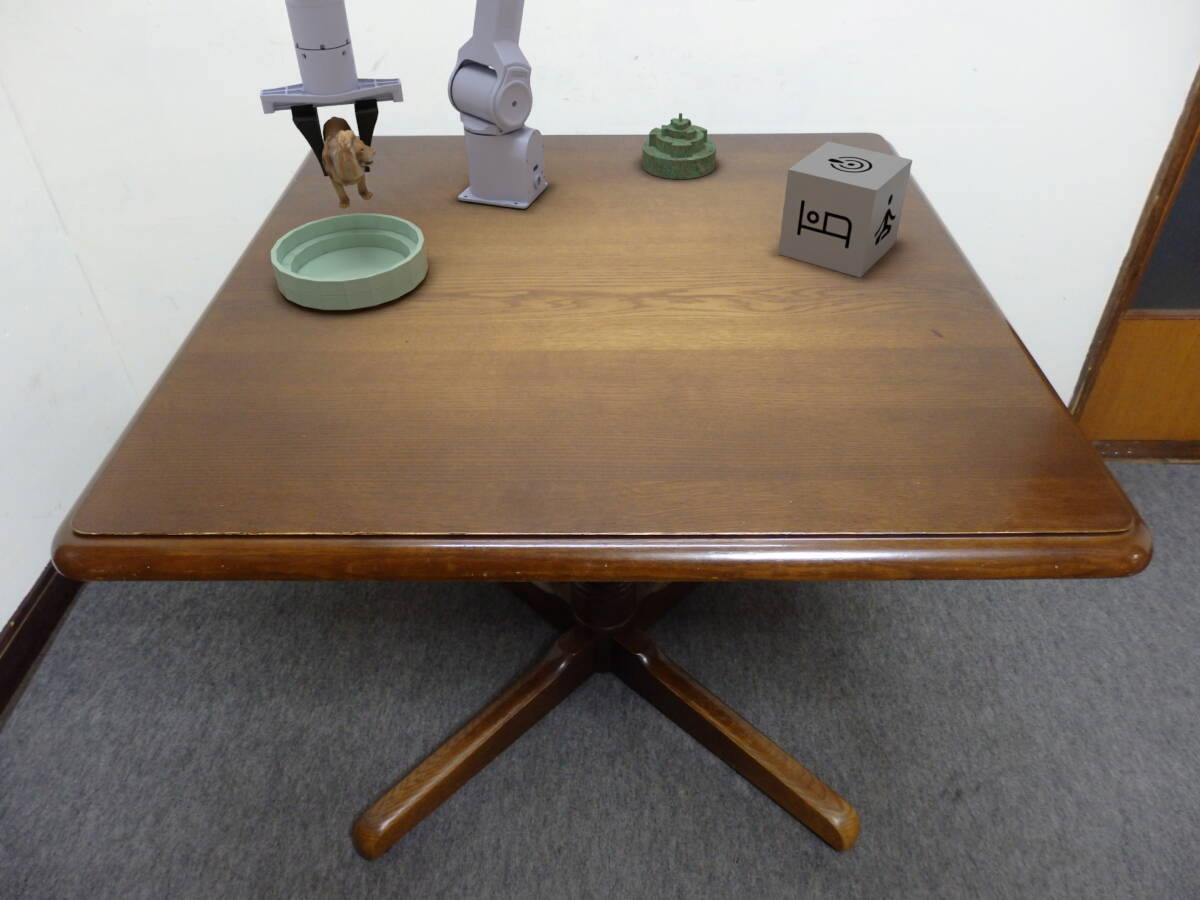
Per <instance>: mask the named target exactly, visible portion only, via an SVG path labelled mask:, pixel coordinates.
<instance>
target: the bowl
mask: <svg viewBox="0 0 1200 900" xmlns="http://www.w3.org/2000/svg"><path fill="white" fill-rule="evenodd" d="M270 262H271V266H272V269H273V274H274V277H275V280H276V281H275V282H276V285H277V288H278V290H279V292H280V293H281V294H282V295H283V296H284V298H286V299H287V300H288V301H290V302H292V303H295V304H297V305H299V306H301V307H304V308H305V307H306V308H312V309H316V310H317V309H318V310H322V311H349V310H350V311H352V310H355V309H356V310H357V309H362V308H363V309H364V308H371V307H375V306H378V305H381V304H385V303H388V302H390V301H393V300H396V299H398V298H400V297H402V296H404V295H405V294H407V293H409V292H411V291H413V290H415V288H416V287H418V285H419V284H420V283H422V281H423V280H424V279H425V278H426V275H427V272H428V270H429V261H428V255H427V248H426V240H425V238H424V234H423V231H422V229H420V228H419V226H417V225H416V224H415V223H413V222H412V221H409V220H407V219H404V218H402V217H399V216H397V215H389V214H383V213H377V212H376V213H374V212H373V213H372V212H371V213H370V212H368V213H367V212H366V213H365V212H364V213H363V212H361V213H359V212H358V213H346V214H338V215H331V216H327V217H324V218H320V219H317V220H313V221H309V222H307V223H304V224H301V225H299V226H298V227H295V228H293V229H291V230H289V231H288V232H287V233H285V234H283V236H281V237H280V238H278V239H277V240H276V242H275V243H274V245H273V247H272V248H271V250H270Z"/></svg>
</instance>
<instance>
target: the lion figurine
mask: <svg viewBox="0 0 1200 900" xmlns="http://www.w3.org/2000/svg"><path fill="white" fill-rule="evenodd" d="M352 129H353V128H352V127H351V125H350V124H349V123H348V121H347V120H346V119H344V118H343V117H338V116H331V117H330V118H329V119H327V120H326V121H325V122H324V124H323V126H322V138H323V142H324V149H323V152H322V160H323V165H324V168H325V170H326V172H327V174H328V176H327V177H328V178H329V180H330V181H331V184H332V187H333V188H334V190H335V192H336V195H337V196H338V198H339V203H338V207H339V208H340V209H343V210H344V209H345V210H346V209H349V208H350V207H351V199H350V198H349V196H348V194H347V192H346V190H345V188H344V187H349V186H354V185H356V184H357V185H356V186H357V194H358V195H359V197H361V199H362V200H364V201H370V200H371V199H372V198H373V197H374V193H373V192H371V191H369V190H368V187H367V184H366V174H365V173H366V172H365V166H368V167H370V168H372V167H373V166H374V159H375V155H376V153H377V149H376V148H374V147H372V146H371V147H369V146H366V145H365V144H364V143H363V142H362V141H361V140H360V139H358V137H357V136H356V134H355V131H354V130H352Z"/></svg>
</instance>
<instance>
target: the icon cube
mask: <svg viewBox="0 0 1200 900" xmlns="http://www.w3.org/2000/svg"><path fill="white" fill-rule="evenodd" d="M912 164H913V159H911V158H906V157H902V156H896V155H892V154H887V153H883V152H878V151H873V150H870V149H865V148H861V147H856V146H852V145H848V144H847V145H846V144H842V143H838V142H833V141H826V142H825V143H823V144H822V145H821V146H819V147H818V148H817V149H815V150H814V151H812V152H811V153H809V154H808V155H806V156H805V157H804V158H802V159H801V160H800V161H798V162H797V163H795V164H794V165H792V166H791V167H789V168H788V169H787V171H788V172H787V177H786V186H785V193H784V203H783V210H782V219H781V226H780V227H781V228H780V235H779V243H778V251H777V254H778V255H780V256H784V257H786V258H790V259H794V260H798V261H801V262H805V263H808V264H812V265H815V266H818V267H822V268H825V269H829V270H833V271H836V272H839V273H843V274H845V275H849V276H853V277H856V278H862V277H863V276H864V275H865V274H866V273H867V272H868V271H869V270H870V269H871V268H872V267H874V265H875V264H876V263H877V262H879V260H880V259H881V258H882V257H883V256H884V255H885V254H886V253H888V251H890V250H891V248H893V246H895V244H896V240H897V236H898V232H899V226H900V221H901V217H902V212H903V207H904V203H905V198H906V194H907V189H908V183H909V178H910V175H911V170H912Z"/></svg>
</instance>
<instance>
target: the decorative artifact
mask: <svg viewBox="0 0 1200 900" xmlns="http://www.w3.org/2000/svg"><path fill="white" fill-rule="evenodd" d="M641 149H642V151H641V153H642V154H641V166H642V168H643V170H644V171H645V172H646V173H648V174H650V175H652V176H655V177H658V178H663V179H668V180H669V179H670V180H692V179H698V178H700V177H704V176H706V175H709V174H710V173H712V172H713V171H714V170H715V168H716V167H715V166H716V157H717V145H716V143H715V142H714V141H712V140H711V139H709V138H708V129H707V128H704V127H702V126H700V125H696V124H692V121H691V119H689V118H683V112H679V113H678V118H676V117H673V118H671V119H670V123H669V124H661V128H659V127H654V128H652V129H651V130H650V131H649V133H648V139H647V140H645V141H644V142H643V144H642V147H641Z"/></svg>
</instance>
